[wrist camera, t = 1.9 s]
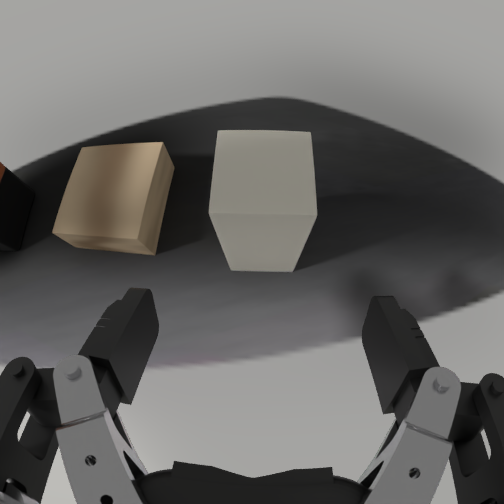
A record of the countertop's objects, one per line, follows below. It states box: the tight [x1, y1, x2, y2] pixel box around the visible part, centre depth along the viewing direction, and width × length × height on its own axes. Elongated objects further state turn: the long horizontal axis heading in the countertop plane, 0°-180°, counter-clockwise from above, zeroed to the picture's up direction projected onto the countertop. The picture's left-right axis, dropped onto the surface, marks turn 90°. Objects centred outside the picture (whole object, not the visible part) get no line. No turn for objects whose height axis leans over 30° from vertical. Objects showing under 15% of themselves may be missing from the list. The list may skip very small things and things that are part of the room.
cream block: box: [209, 130, 317, 272], centre depth 18 cm, size 4×4×10 cm
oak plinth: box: [52, 142, 175, 255], centre depth 22 cm, size 8×8×4 cm
